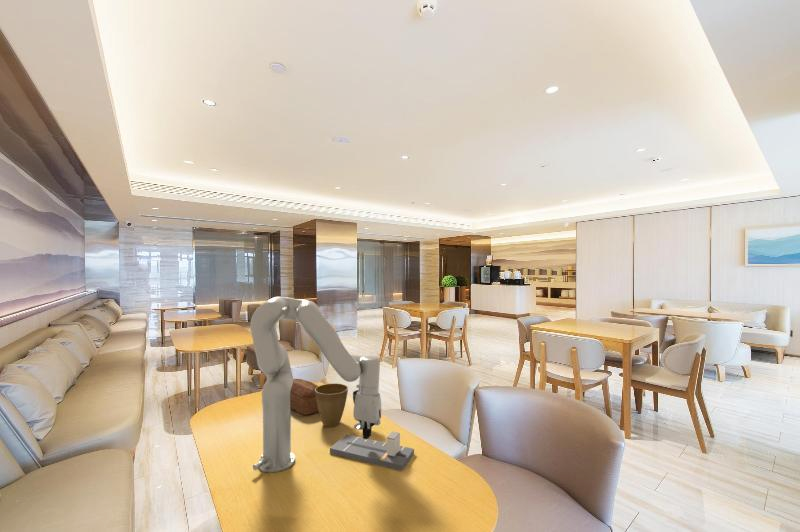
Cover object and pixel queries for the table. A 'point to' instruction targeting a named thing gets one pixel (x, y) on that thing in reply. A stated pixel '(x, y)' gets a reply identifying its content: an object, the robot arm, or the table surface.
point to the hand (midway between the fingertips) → (366, 437)
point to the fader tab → (393, 443)
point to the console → (371, 452)
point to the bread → (303, 397)
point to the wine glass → (358, 425)
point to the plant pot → (331, 403)
